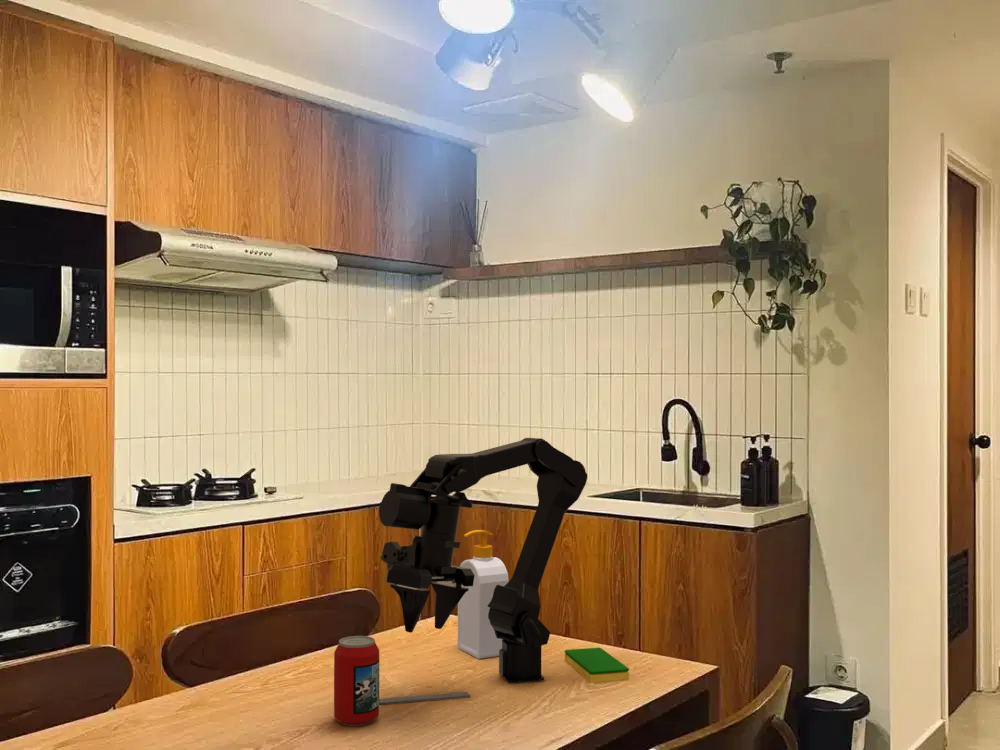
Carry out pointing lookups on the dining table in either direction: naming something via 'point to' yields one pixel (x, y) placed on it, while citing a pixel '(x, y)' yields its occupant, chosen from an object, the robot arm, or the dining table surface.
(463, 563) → the soap bottle
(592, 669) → the dish sponge
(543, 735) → the dining table surface
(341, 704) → the beverage can
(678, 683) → the dining table surface
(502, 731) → the dining table surface
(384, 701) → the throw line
